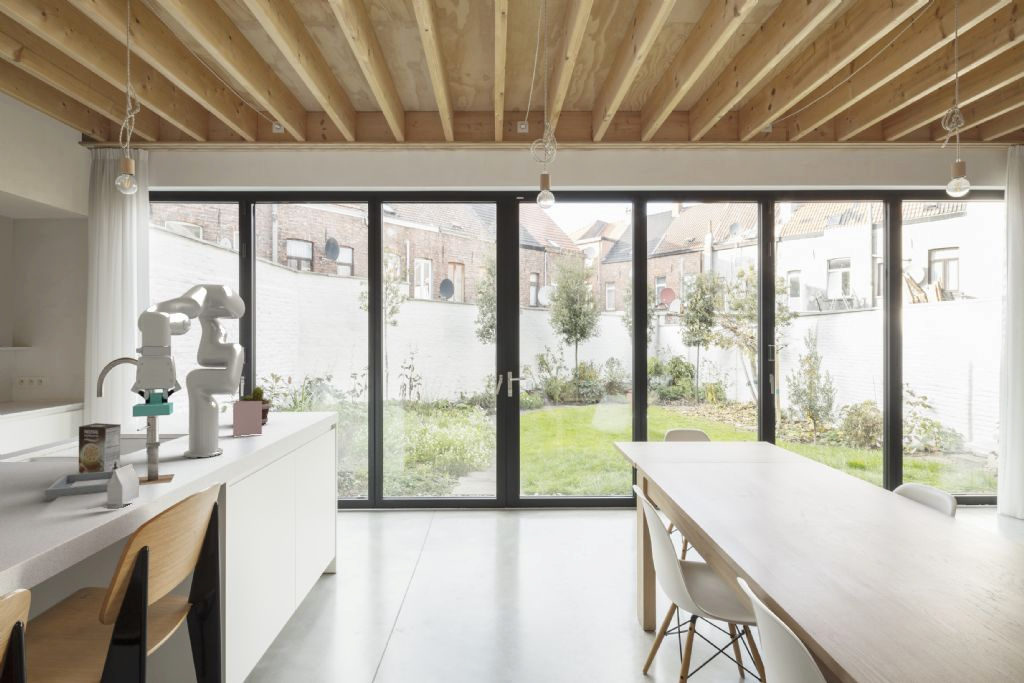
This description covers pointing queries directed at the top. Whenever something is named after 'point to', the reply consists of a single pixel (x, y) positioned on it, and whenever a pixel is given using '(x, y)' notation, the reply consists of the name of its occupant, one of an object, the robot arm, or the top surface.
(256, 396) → the flowerpot
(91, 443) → the coffee box
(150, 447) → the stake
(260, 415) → the greeting card
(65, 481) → the tray
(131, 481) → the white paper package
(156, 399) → the collar
